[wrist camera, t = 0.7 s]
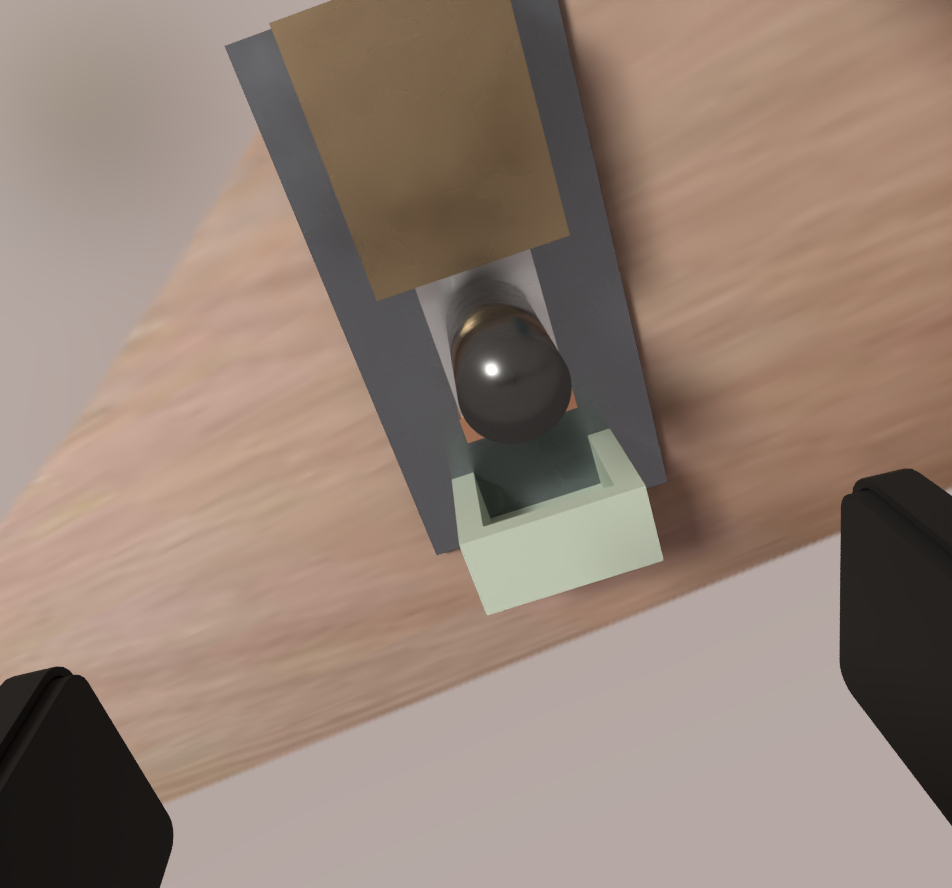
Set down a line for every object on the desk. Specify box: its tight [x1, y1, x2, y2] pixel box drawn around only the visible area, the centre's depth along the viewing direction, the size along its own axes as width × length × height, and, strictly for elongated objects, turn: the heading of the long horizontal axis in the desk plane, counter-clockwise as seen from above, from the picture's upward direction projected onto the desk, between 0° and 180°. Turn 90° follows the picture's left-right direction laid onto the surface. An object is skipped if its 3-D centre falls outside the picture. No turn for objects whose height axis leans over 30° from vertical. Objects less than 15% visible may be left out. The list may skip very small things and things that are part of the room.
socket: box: [452, 428, 664, 615], centre depth 30 cm, size 7×4×5 cm, turn 108°
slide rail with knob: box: [225, 0, 667, 555], centre depth 26 cm, size 11×22×6 cm, turn 18°
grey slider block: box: [415, 249, 578, 444], centre depth 22 cm, size 4×14×10 cm, turn 18°
